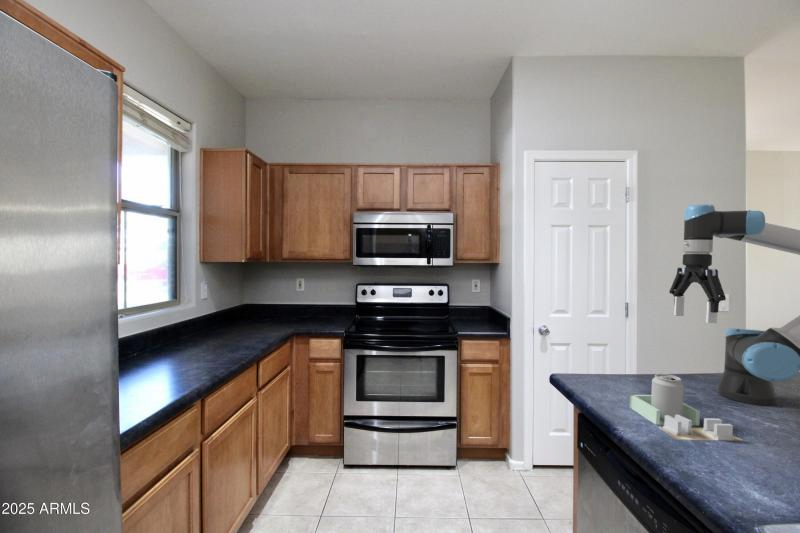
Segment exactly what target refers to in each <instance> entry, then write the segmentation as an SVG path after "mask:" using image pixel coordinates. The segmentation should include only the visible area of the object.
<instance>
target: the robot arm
mask: <svg viewBox="0 0 800 533" xmlns="http://www.w3.org/2000/svg"><path fill="white" fill-rule="evenodd" d="M683 223H684V224H683V225H684V226H683V249H682V250H683V253H684V254H683V255H682V265H683V266H685V267H677V270H676V275H675V277H674V279H673V282H672V285H671V287H670V288H669V294H671V295H673V297H674V298H673V305H674V307H673V309H674V310H673V316H676V317H678V316H679V317H684V316H685V315H684V313H685V296H684V294H685V293H686V291H687V290H688V289H689V287H690V286H691V284H692V283H697V284H698V285H700V287H701V288H702V289H703V291H704V292H703V293H705V295H706V297H707V301H706V317H705V323H706V324H717V323H718V313H719V311H720V310H719V308H720V307H719V306H720V302H722V301H726V299H727V298H726V295H725V292H724V289H723V287H722V284H721V281H720V278H719V271H718V269H717V268H716V269H715V268H710V267H711V266H712V264H713V255H712V254H711V253H713V251H714V248H713V246H714V237H716V238H719V239H724V238H725V239H729V240H732V241H733V240H734V241H738V242H743V243H747V244H751V245H756V246H760V247H764V248H768V249H772V250H778V251H782V252H785V253H790V254H793V255H798V256H800V229H796V228H792V227H786V226H782V225H778V224H773V223H768V222H766V215H765V213H764V212H763V211H761V210H752V209H748V210H726V211H725V210H724V211H722V210H720V211H719V210H716V208H715V206H714V205H713V204H694V205H693V204H692V205H689V206H687V207H686V208H685V211H684V220H683ZM724 339H725V349H724V350H725V351H724V370H723V373H722V375H721V378H720V380H719V382H718V383H717V384H716V393H717V394H719V395H720V396H723V397H725V398H728V399H730V400H733V401H738V402H741V403H746V404H751V405H759V406H774V405H777V402H778V395H777V394H776V392H775V389H774V384H773V382H775V383H777V382H778V383H781V382H786V381H789V380H791V379H793V378H794V377H795V378H796V376H797V375H798V374H799V373H800V315H798V316H796V317H795V318H794V319H792V320H790V321H789V322H787V323H786V324H784V325H782V326H781V327H769V328H768V329H766V330H759V329H758V330H757V329H745V328H743V329H742V328H736V327H735V328H734V327H732V328H731V327H730V328H728V329H727V330H726V333H725V337H724Z"/></svg>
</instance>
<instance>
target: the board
mask: <svg viewBox="0 0 800 533" xmlns="http://www.w3.org/2000/svg"><path fill="white" fill-rule="evenodd" d="M657 428H659V429H660V430H661V431H663V432H664V433H666V434H668V435H669V436H671V437H672V438H674V439H675V440H678V441H718V440H717V439H715V438H713V437H712V436H710V435H708V434H706V433H705V432H703V431H702V428H703V427H692V429H691V431H693V434H692V435H679V436H676V435H674V434H672V433H670V432H668V431H666V430H664V429H663V426H662V427H661V426H658V427H657ZM732 437H734V440H730V441H733V442H734V441H737V442H738V441H740V442H741V441H742V442H744V439H741V438H740V437H738V436H736V435H733V434H732Z"/></svg>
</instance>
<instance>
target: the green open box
mask: <svg viewBox="0 0 800 533" xmlns="http://www.w3.org/2000/svg"><path fill="white" fill-rule="evenodd" d="M629 409H630V410H633V411H634V412H636V413H637V414H639V415H640V416H642V417H644V418H645V419H646V420H647V421H650V422H651V423H652V424H654V425H655V426H664V423H665V421H662V420H660V410H658V409H657V408H655V407H653V406H651V394H629ZM682 417H685V418H687V419H689V420H691V421H692V426H700V421H701V420H700V419H701V418H700V417H701V411H700V410H698V409H696V408H694V407H693V406H691V405H689V404H687V403H685V402H683V414H682Z"/></svg>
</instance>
